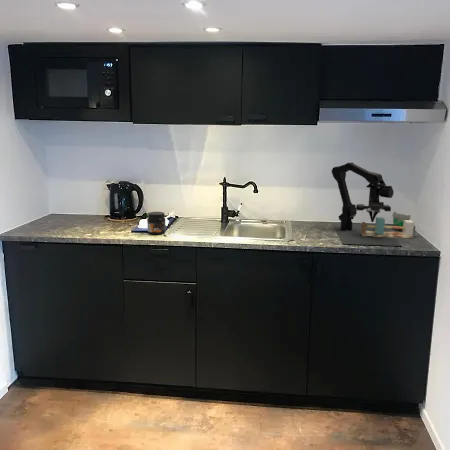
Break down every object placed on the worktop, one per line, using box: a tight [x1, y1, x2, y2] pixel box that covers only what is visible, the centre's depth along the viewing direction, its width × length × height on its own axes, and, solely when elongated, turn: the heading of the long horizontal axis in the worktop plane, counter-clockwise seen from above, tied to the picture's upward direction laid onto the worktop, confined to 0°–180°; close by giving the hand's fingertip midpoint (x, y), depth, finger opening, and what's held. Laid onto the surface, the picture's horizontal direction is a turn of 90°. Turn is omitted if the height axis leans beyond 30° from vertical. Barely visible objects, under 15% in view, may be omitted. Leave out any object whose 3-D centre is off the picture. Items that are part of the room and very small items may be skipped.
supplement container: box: [146, 211, 166, 236], centre depth 275 cm, size 10×10×12 cm
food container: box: [391, 211, 412, 232], centre depth 290 cm, size 12×6×10 cm, turn 27°
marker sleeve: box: [374, 216, 386, 234], centre depth 277 cm, size 4×6×8 cm, turn 172°
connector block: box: [402, 219, 416, 237], centre depth 274 cm, size 6×7×8 cm
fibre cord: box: [366, 224, 405, 230], centre depth 276 cm, size 23×1×1 cm, turn 82°
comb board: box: [359, 221, 414, 239], centre depth 277 cm, size 28×10×7 cm, turn 82°
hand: (372, 222), depth 277 cm, fingers closed
